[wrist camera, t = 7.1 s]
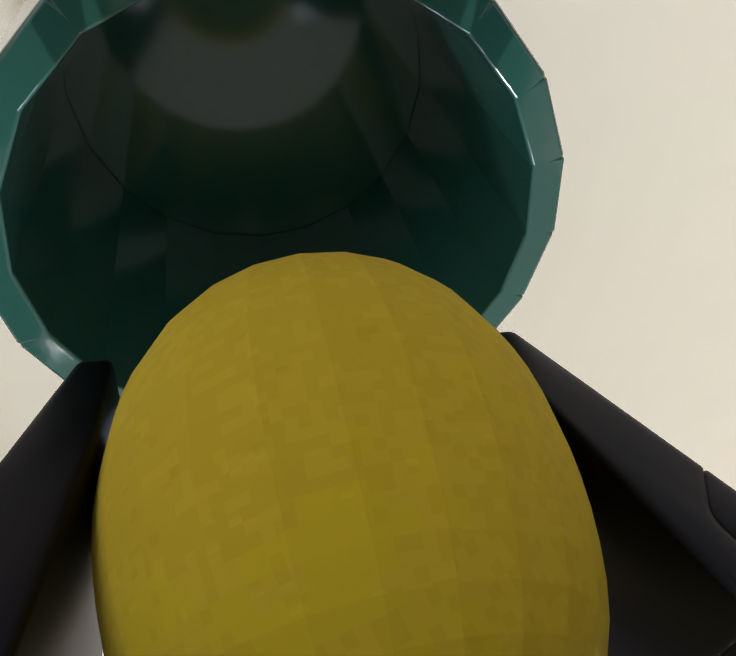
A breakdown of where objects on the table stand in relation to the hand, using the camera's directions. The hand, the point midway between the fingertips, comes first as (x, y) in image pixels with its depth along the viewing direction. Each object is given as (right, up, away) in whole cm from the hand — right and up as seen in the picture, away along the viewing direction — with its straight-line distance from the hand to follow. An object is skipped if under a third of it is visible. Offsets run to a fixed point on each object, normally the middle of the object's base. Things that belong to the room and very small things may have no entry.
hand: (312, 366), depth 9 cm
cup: (-2, +7, +8) cm, 11 cm away
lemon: (0, +1, +1) cm, 2 cm away
